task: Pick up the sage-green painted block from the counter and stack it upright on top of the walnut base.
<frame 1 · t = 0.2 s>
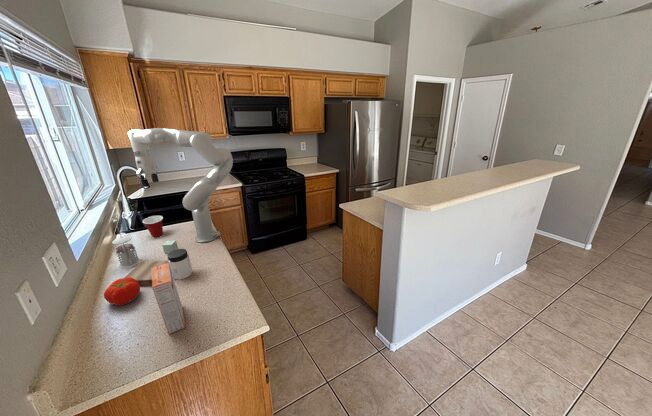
hand: (151, 184, 147), 36 cm above the countertop, tool pointing down, fingers open, 9 cm apart
tomato: (125, 300, 111), on the countertop
french press: (130, 264, 137), on the countertop
walnut base: (150, 275, 126), on the countertop
cracker box: (175, 320, 99), on the countertop
plastic cup: (157, 236, 166), on the countertop
sage block: (171, 252, 147), on the countertop
jar: (183, 274, 127), on the countertop
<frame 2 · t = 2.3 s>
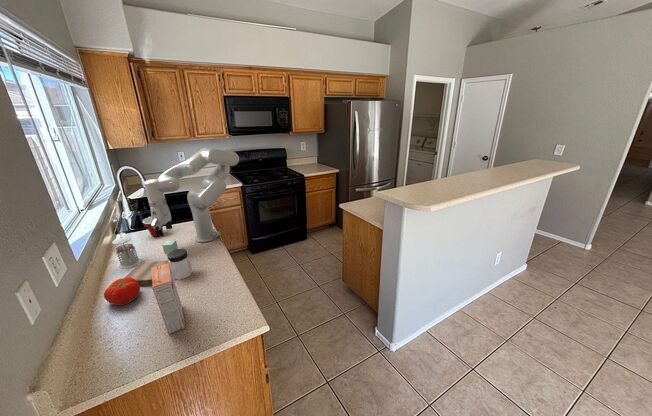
hand: (164, 232, 142), 12 cm above the countertop, tool pointing down, fingers open, 9 cm apart
nothing on the countertop moved.
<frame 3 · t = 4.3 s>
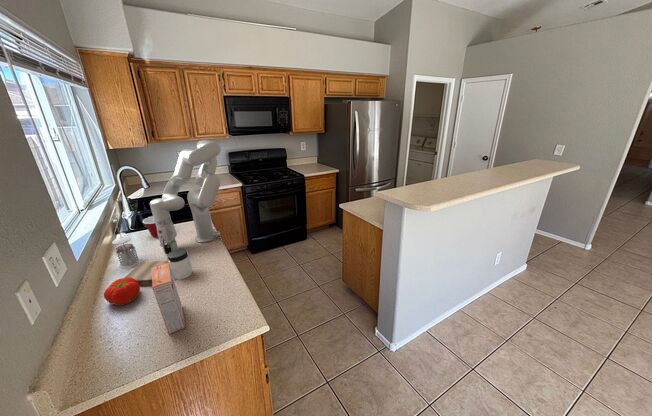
hand: (171, 250, 147), 1 cm above the countertop, tool pointing down, fingers closed on sage block, 5 cm apart
sage block: (171, 252, 147), on the countertop, touching gripper
everything else where it was.
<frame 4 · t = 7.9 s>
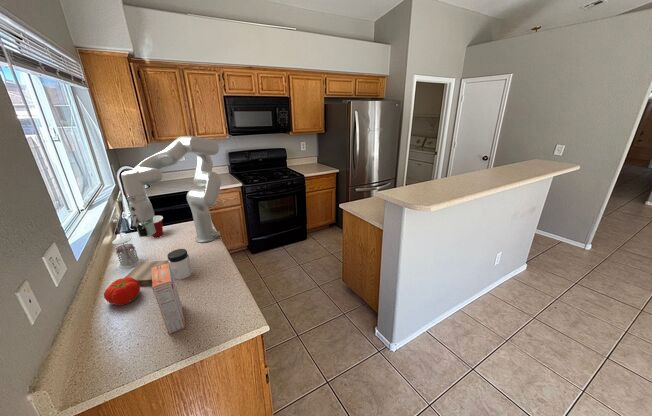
hand: (147, 232, 127), 19 cm above the countertop, tool pointing down, fingers closed on sage block, 5 cm apart
sage block: (147, 234, 127), point 18 cm above the countertop, touching gripper
everything else where it was.
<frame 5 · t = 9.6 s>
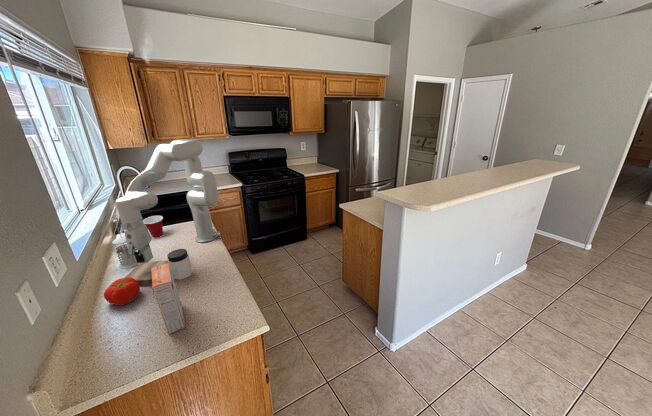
hand: (144, 258, 123), 10 cm above the countertop, tool pointing down, fingers closed on sage block, 5 cm apart
sage block: (144, 260, 123), point 9 cm above the countertop, touching gripper
everything else where it was.
when the fingers open (5 cm above the countertop, at t = 11.3 s): sage block drops 1 cm, resting on walnut base.
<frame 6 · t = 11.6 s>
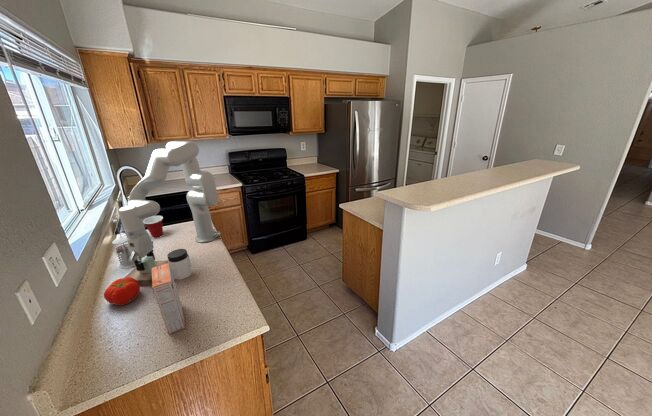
hand: (146, 264, 124), 6 cm above the countertop, tool pointing down, fingers open, 8 cm apart
sage block: (148, 270, 125), point 3 cm above the countertop, touching walnut base
everything else where it was.
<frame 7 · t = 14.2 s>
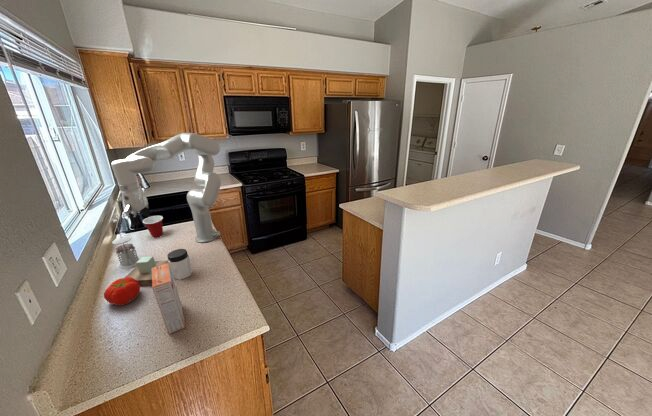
hand: (141, 220, 127), 25 cm above the countertop, tool pointing down, fingers open, 9 cm apart
nothing on the countertop moved.
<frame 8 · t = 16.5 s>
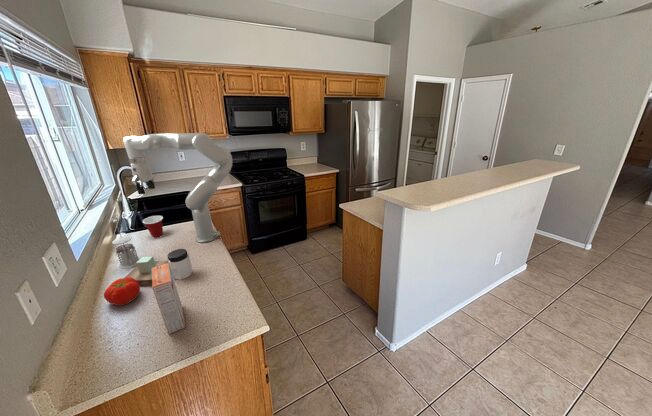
hand: (147, 191, 144), 33 cm above the countertop, tool pointing down, fingers open, 9 cm apart
nothing on the countertop moved.
at the end: sage block inside the target area on the walnut base (0.1 cm from its centre), point 3.0 cm above the walnut base's base; sage block tilted 0°; the gripper is holding nothing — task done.
